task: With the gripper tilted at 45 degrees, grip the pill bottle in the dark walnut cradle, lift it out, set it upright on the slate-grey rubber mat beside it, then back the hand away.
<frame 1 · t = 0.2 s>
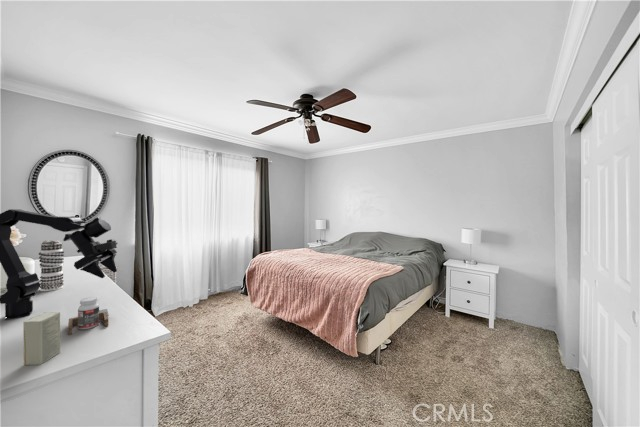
hand: (109, 274, 108), 15 cm above the table, tool tilted 35°, fingers open, 9 cm apart
pill bottle: (88, 326, 93), resting in walnut cradle
walnut cradle: (88, 326, 93), on the table
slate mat: (94, 315, 102), on the table
decorative candle: (51, 289, 134), on the table
skincare box: (42, 359, 73), on the table
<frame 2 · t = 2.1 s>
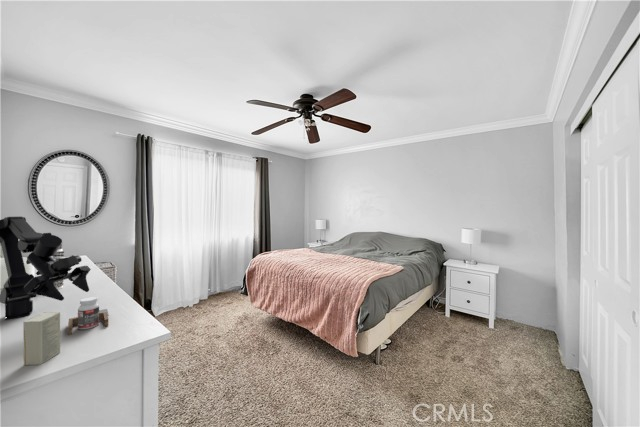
hand: (76, 295, 93), 11 cm above the table, tool tilted 45°, fingers open, 9 cm apart
nothing on the table moved.
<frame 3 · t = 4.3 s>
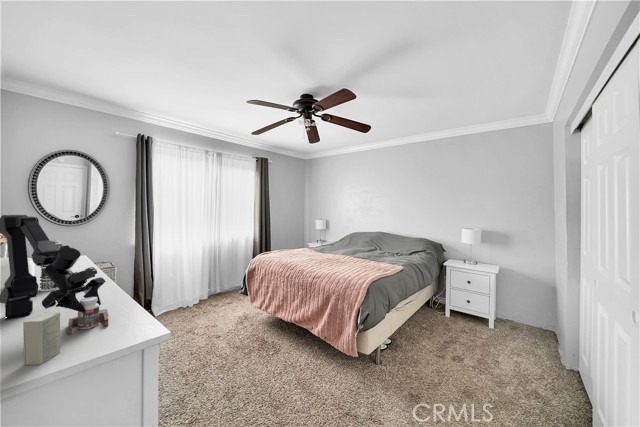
hand: (92, 308, 93), 7 cm above the table, tool tilted 45°, fingers closed on pill bottle, 6 cm apart
pill bottle: (88, 326, 93), resting in walnut cradle, touching gripper
everything else where it was.
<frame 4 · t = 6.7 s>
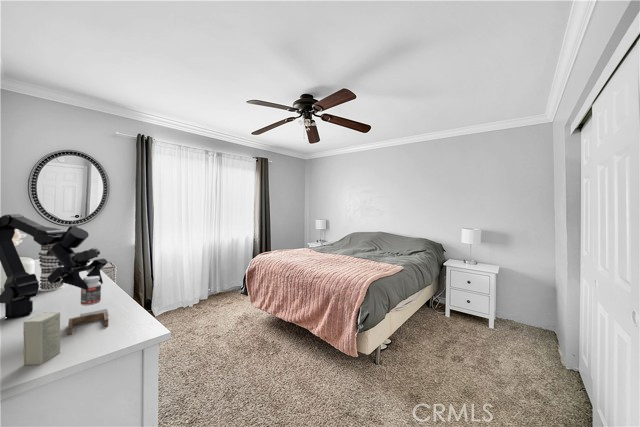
hand: (94, 286, 98), 13 cm above the table, tool tilted 45°, fingers closed on pill bottle, 6 cm apart
pill bottle: (90, 303, 98), point 6 cm above the table, touching gripper
everything else where it was.
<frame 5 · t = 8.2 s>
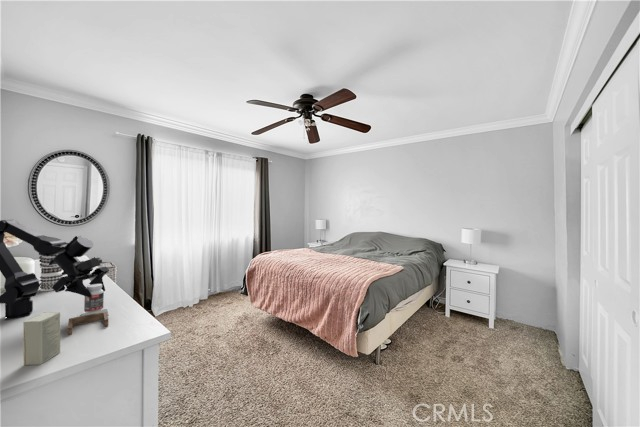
hand: (97, 293, 102), 9 cm above the table, tool tilted 45°, fingers closed on pill bottle, 6 cm apart
pill bottle: (94, 310, 102), point 2 cm above the table, touching gripper
everything else where it was.
when the fingers open (8 cm above the table, at t = 9.3 s): pill bottle stays where it is, resting on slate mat.
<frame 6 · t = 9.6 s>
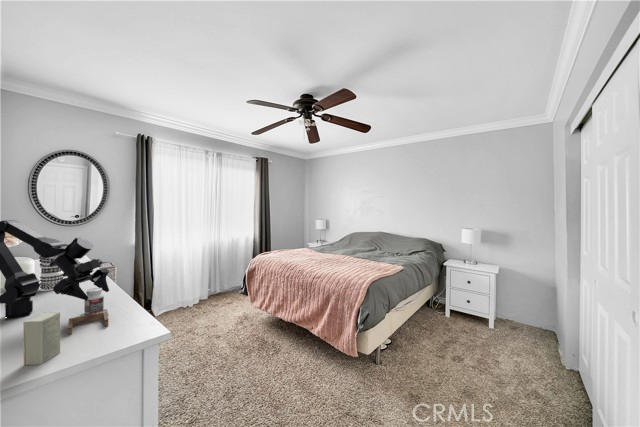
hand: (98, 295, 102), 8 cm above the table, tool tilted 45°, fingers open, 9 cm apart
pill bottle: (94, 314, 102), resting on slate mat
everything else where it was.
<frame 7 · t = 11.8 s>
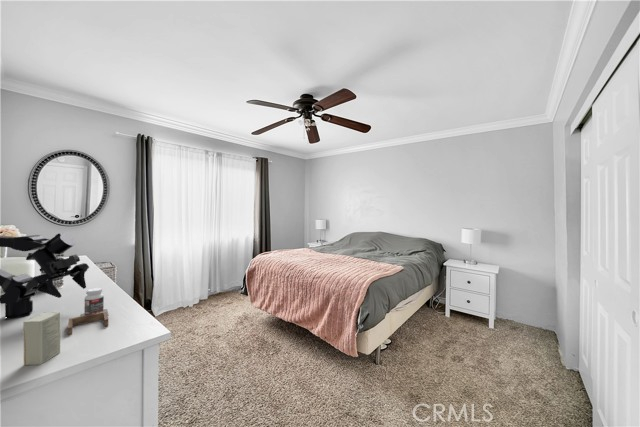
hand: (73, 292, 102), 9 cm above the table, tool tilted 40°, fingers open, 9 cm apart
nothing on the table moved.
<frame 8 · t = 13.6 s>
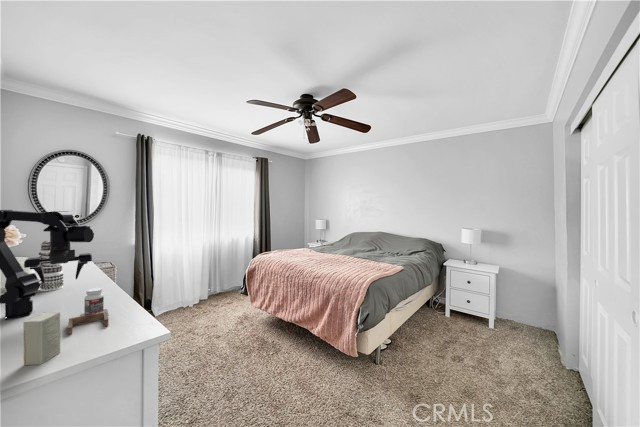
hand: (60, 281, 103), 13 cm above the table, tool pointing down, fingers open, 9 cm apart
nothing on the table moved.
at the end: pill bottle inside the target area (0.2 cm from its centre), resting on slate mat; pill bottle tilted 0°; the gripper is holding nothing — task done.
